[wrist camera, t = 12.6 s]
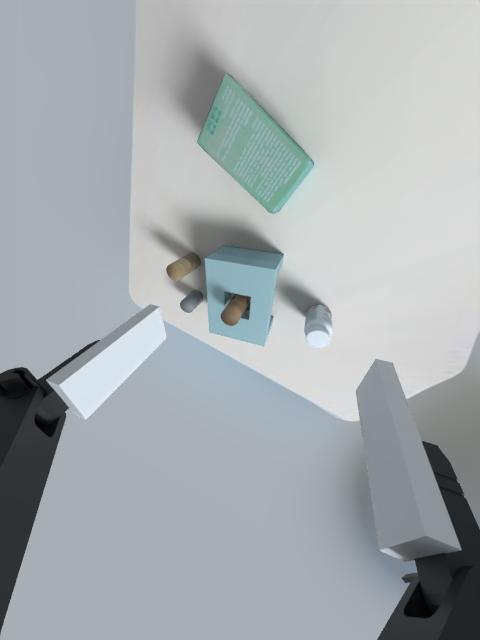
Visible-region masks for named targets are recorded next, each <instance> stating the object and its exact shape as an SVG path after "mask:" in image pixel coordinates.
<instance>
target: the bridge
mask: <svg viewBox="0 0 480 640" xmlns="http://www.w3.org/2000/svg"><path fill="white" fill-rule="evenodd" d="M283 256H284V254H278V253H271V252H264V251H257V250H250V249H243V248H236V247H229V246H222V247H221V248H219V249H218V250H216V251H215V252H213V253H212V254H210V255H209V256H207V257H206V258H205V271H206V286H207V302H208V318H209V332H211V333H214V334H218V335H222V336H226V337H230V338H234V339H238V340H241V341H245V342H249V343H253V344H257V345H261V346H264V345H265V343H266V340H267V337H268V334H269V331H270V329H271V326H272V322H273V317H272V316H271V311H272V305H273V298H274V292H275V286H276V279H277V274H278V272H279V270H280V268H281V266H282V262H283ZM230 293H235V294H240V295H244V296H249V297H251V304H250V311H247V310H245V311H244V313H243V315H242V316H241V318H240V320H239V321H238V323H237V324H236V325H234V326H229V325H226V324H225V323H224V322H223V321H222V320H221V313H222V311H223V310H224V309H225V307H226V306H227V305H228V303H229V302H230Z"/></svg>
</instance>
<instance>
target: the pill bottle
mask: <svg viewBox="0 0 480 640" xmlns="http://www.w3.org/2000/svg"><path fill="white" fill-rule="evenodd" d="M305 335H306V342H307V343H308V344H309V345H310V346H311V347H314V348H324V347H326V346H327V345H328V344H329V343H330V337H331V335H332V316H331V311H330V310H329V308H328V307H326V306H324V305H314V306H312V307H310V308H309V309H308V311H307V314H306V321H305Z"/></svg>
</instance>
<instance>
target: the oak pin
mask: <svg viewBox="0 0 480 640" xmlns="http://www.w3.org/2000/svg"><path fill="white" fill-rule="evenodd" d="M199 265H200V258H199V257H198V255H197V254H195V253H190V254H188V255H186V256H184V257H183V258H181V259H179V260H177V261H175V262H174V263H172V264H170V265H168V266H167V269H166V271H167V274H168V276H169V277H170V278H171V279H172V280H175V281H178V280H180V279H181V278H183V277H184V276H186V275H187V274H188V273H190V272H191V271H193V270H194V269H196V268H197V267H198V266H199Z"/></svg>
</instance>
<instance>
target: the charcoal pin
mask: <svg viewBox="0 0 480 640" xmlns="http://www.w3.org/2000/svg"><path fill="white" fill-rule="evenodd" d="M202 301H203V295H202V294H201V293H200V292H199V291H193V292H192V293H190V294H189V295H188V296H187V297H186V298H185V299H183V300H182V301H181V303H180V306H181V308H182V310H183V311H185V312H187V313H190V312H192V311H193V310H194V309H195V308H196V307H197V306H198V305H199V304H200V303H201V302H202Z"/></svg>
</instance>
